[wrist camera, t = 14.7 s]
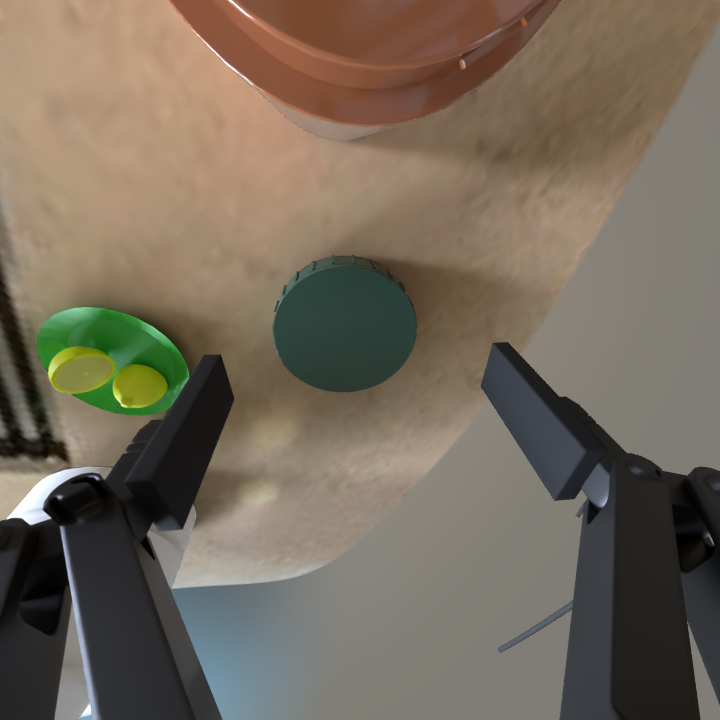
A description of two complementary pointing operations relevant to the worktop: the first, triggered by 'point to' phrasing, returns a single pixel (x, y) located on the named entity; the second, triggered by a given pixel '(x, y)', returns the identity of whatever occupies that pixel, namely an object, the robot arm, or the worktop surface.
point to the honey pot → (73, 678)
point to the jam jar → (363, 54)
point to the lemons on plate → (111, 361)
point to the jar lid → (344, 324)
